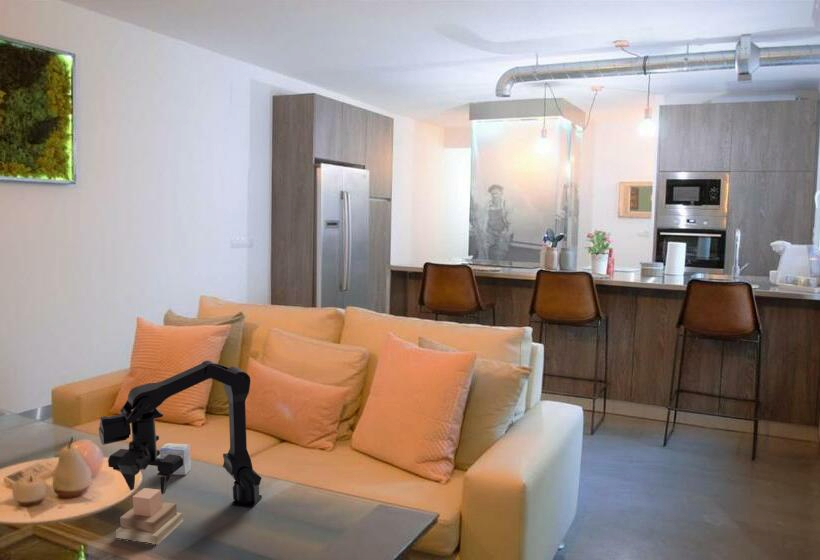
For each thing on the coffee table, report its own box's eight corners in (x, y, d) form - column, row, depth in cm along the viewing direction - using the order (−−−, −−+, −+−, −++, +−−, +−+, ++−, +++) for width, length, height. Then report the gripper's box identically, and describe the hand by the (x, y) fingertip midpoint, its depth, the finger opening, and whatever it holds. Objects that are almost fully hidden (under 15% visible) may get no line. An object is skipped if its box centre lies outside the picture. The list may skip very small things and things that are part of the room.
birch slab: (183, 523, 188) (182, 513, 187) (157, 547, 176) (156, 536, 176) (144, 518, 190) (143, 508, 190) (116, 541, 179) (115, 530, 178)
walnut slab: (176, 514, 186) (176, 504, 186) (154, 533, 177) (153, 522, 176) (144, 509, 189) (144, 499, 189) (120, 528, 180) (119, 517, 179)
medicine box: (191, 469, 218) (190, 443, 217) (185, 476, 214) (184, 449, 212) (167, 468, 219) (165, 442, 218) (161, 474, 215) (159, 448, 213)
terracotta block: (162, 507, 184) (160, 489, 183) (150, 516, 179) (149, 498, 178) (145, 505, 185) (144, 487, 184) (134, 514, 181) (132, 496, 180)
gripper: (91, 444, 173) (96, 502, 176) (158, 451, 169) (161, 510, 171) (119, 427, 183) (123, 482, 186) (182, 434, 179) (186, 490, 182)
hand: (147, 491), depth 181 cm, fingers open, 9 cm apart
